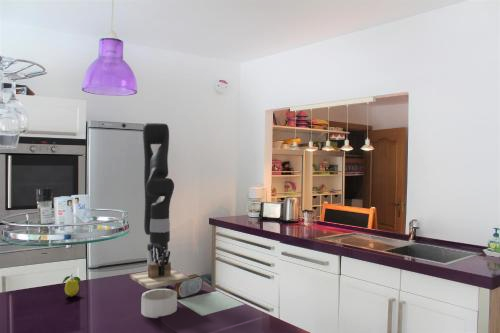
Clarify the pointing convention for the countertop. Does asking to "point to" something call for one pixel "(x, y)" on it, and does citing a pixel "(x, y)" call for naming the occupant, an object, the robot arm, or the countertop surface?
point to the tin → (189, 286)
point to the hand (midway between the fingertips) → (159, 274)
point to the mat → (210, 303)
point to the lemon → (71, 285)
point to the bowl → (158, 302)
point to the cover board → (159, 280)
